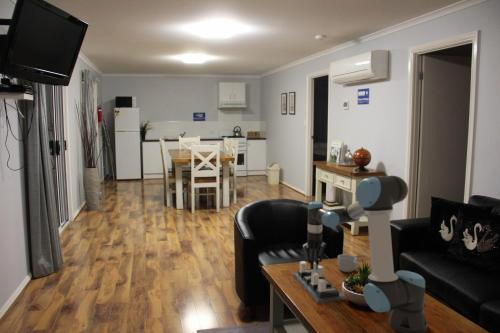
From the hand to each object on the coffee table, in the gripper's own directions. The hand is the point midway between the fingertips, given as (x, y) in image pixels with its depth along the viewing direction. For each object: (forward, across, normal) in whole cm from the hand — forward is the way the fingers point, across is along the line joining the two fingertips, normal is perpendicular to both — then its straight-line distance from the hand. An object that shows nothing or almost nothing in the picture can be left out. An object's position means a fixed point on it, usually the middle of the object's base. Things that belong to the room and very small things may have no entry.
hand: (313, 274), depth 210 cm
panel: (+5, 0, +4) cm, 7 cm away
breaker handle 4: (+1, +3, +16) cm, 16 cm away
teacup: (+6, -26, -11) cm, 29 cm away
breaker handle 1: (+1, +3, -8) cm, 9 cm away
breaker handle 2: (+1, +3, +8) cm, 8 cm away
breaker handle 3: (+1, -3, 0) cm, 4 cm away
